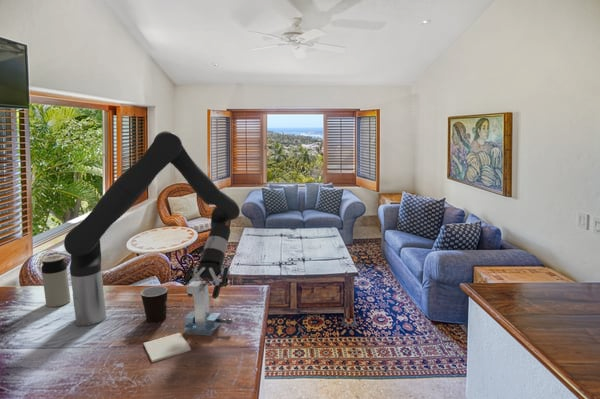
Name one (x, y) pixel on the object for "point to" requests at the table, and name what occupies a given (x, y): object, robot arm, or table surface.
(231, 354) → the table surface
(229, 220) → the robot arm
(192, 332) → the vise
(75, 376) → the table surface
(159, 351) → the felt pad
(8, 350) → the table surface
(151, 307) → the coffee mug
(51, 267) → the travel mug
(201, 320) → the brushed aluminum pillar
